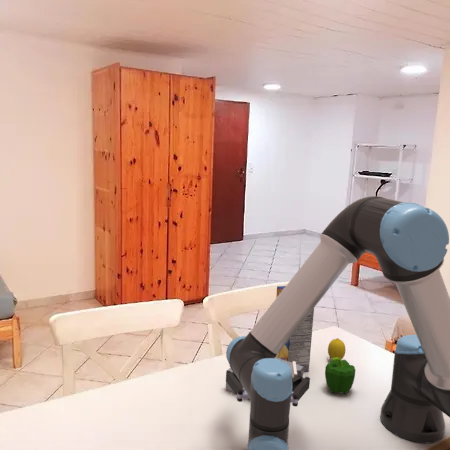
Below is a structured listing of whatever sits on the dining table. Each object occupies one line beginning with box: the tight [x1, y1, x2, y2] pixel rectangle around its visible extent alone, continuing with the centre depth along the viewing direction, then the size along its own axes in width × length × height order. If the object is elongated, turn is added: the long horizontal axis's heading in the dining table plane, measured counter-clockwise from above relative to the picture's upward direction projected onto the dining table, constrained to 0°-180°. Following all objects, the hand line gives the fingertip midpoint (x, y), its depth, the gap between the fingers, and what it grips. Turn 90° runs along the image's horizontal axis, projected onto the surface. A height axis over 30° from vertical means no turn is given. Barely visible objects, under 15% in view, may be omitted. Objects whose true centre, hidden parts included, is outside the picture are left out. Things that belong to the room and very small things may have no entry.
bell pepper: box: [324, 357, 356, 395], centre depth 129 cm, size 8×8×10 cm
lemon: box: [327, 338, 346, 360], centre depth 146 cm, size 6×6×8 cm
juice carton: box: [275, 285, 315, 373], centre depth 141 cm, size 12×8×24 cm, turn 16°
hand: (267, 364), depth 117 cm, fingers open, 13 cm apart
